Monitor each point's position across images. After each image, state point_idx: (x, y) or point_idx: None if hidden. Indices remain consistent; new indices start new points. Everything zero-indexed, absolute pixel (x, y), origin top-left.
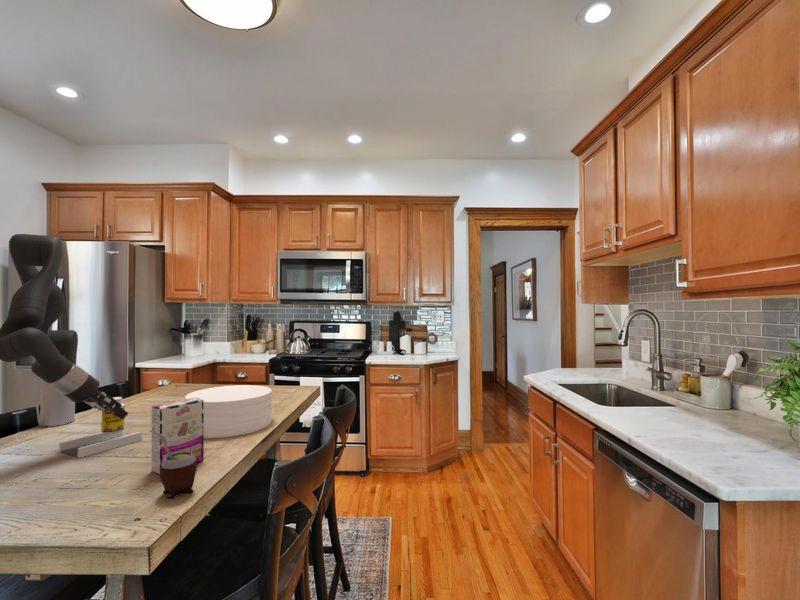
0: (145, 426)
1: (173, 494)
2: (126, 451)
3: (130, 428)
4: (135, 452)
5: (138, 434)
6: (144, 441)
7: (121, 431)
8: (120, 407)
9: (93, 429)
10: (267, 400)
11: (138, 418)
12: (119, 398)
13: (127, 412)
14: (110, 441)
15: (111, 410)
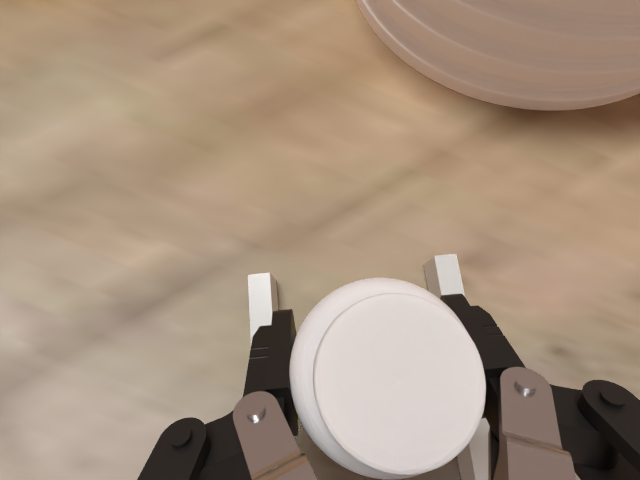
0: (214, 149)
1: None
2: (574, 383)
3: (181, 202)
4: (626, 365)
5: (457, 271)
6: (473, 262)
7: (273, 280)
8: (502, 358)
9: (16, 312)
10: None
11: (37, 106)
12: (465, 342)
13: (463, 296)
14: (488, 425)
15: (584, 477)
